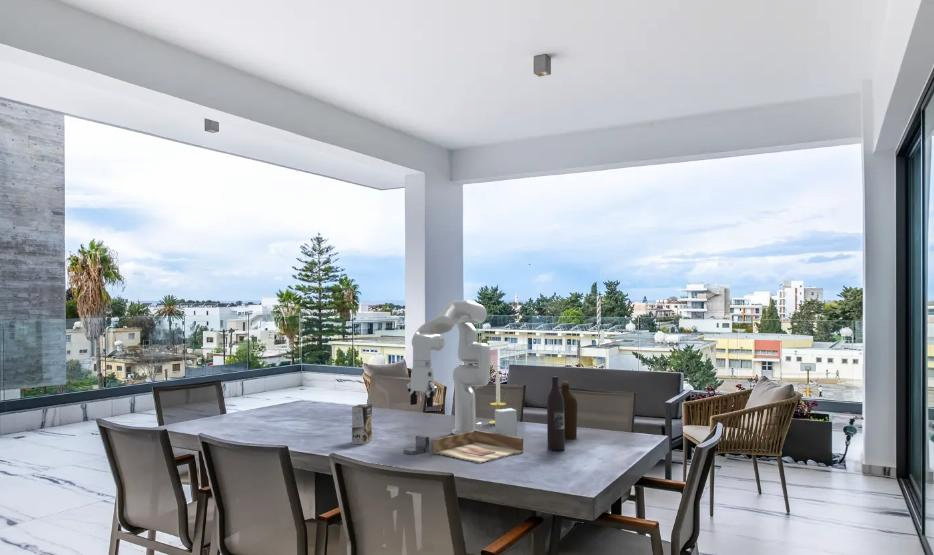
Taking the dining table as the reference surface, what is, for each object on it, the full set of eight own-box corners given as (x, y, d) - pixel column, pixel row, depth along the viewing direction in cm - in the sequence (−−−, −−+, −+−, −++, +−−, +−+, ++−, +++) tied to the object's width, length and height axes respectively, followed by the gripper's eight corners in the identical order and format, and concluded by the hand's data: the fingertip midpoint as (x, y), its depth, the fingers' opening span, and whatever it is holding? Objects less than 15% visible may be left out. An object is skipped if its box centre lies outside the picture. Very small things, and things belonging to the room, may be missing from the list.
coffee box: (365, 444, 275) (365, 407, 275) (351, 444, 276) (351, 406, 277) (372, 440, 284) (372, 404, 284) (359, 439, 285) (359, 403, 286)
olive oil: (569, 434, 294) (569, 379, 295) (582, 438, 284) (581, 382, 286) (549, 436, 290) (549, 381, 291) (562, 440, 280) (561, 383, 282)
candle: (487, 424, 320) (486, 370, 321) (489, 421, 330) (489, 368, 331) (507, 424, 318) (506, 370, 320) (509, 421, 328) (508, 369, 330)
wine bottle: (554, 451, 258) (553, 377, 260) (544, 448, 265) (543, 376, 266) (568, 450, 262) (567, 376, 263) (558, 446, 268) (557, 375, 269)
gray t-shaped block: (419, 449, 265) (419, 434, 266) (429, 451, 261) (428, 436, 261) (402, 453, 259) (402, 438, 259) (412, 455, 255) (412, 440, 255)
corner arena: (476, 443, 276) (476, 430, 277) (523, 452, 258) (523, 438, 259) (433, 453, 257) (433, 439, 258) (480, 463, 240) (480, 448, 240)
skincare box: (512, 442, 278) (511, 407, 279) (517, 444, 272) (517, 409, 273) (494, 443, 275) (494, 409, 276) (499, 446, 270) (499, 411, 270)
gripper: (442, 364, 261) (442, 406, 260) (414, 362, 273) (414, 402, 272) (429, 365, 255) (429, 408, 254) (401, 363, 267) (401, 404, 266)
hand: (421, 405), depth 263 cm, fingers open, 9 cm apart
